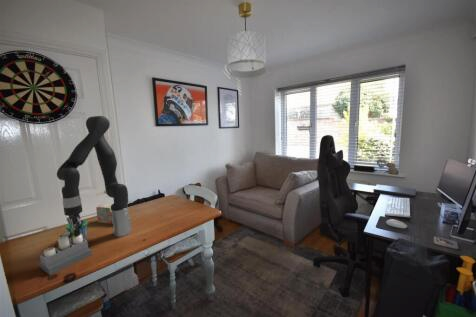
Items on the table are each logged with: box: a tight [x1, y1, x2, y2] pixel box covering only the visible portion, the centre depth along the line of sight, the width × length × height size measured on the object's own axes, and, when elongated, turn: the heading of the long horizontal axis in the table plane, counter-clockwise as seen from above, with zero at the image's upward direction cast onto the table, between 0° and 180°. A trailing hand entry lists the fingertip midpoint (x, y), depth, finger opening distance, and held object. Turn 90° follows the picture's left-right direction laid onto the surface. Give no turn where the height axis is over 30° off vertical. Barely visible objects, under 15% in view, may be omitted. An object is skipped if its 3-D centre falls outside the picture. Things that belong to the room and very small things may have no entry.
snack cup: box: [65, 219, 88, 242], centre depth 131 cm, size 16×10×10 cm
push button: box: [59, 231, 72, 243], centre depth 120 cm, size 7×5×10 cm
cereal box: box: [95, 203, 113, 225], centre depth 155 cm, size 21×6×12 cm, turn 76°
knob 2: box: [72, 234, 83, 245], centre depth 114 cm, size 4×4×6 cm
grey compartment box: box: [38, 238, 93, 276], centre depth 109 cm, size 18×12×8 cm, turn 150°
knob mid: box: [57, 236, 70, 251], centre depth 108 cm, size 4×4×6 cm
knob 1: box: [43, 247, 56, 258], centre depth 104 cm, size 4×4×6 cm
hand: (77, 235), depth 113 cm, fingers closed
